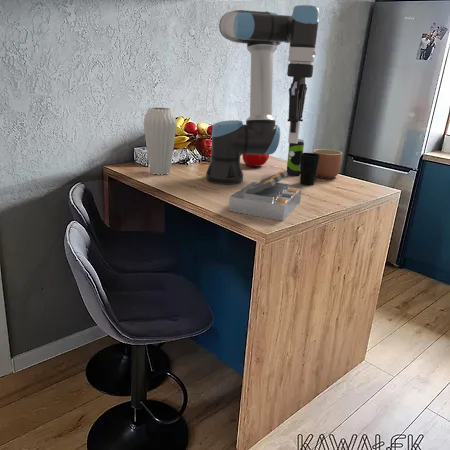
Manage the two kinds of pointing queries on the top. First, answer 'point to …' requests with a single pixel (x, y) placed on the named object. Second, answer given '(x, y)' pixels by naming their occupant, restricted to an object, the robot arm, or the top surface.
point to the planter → (328, 163)
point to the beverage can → (294, 157)
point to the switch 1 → (261, 186)
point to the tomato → (255, 159)
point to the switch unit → (266, 201)
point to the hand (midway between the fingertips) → (292, 142)
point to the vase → (160, 138)
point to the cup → (308, 168)
